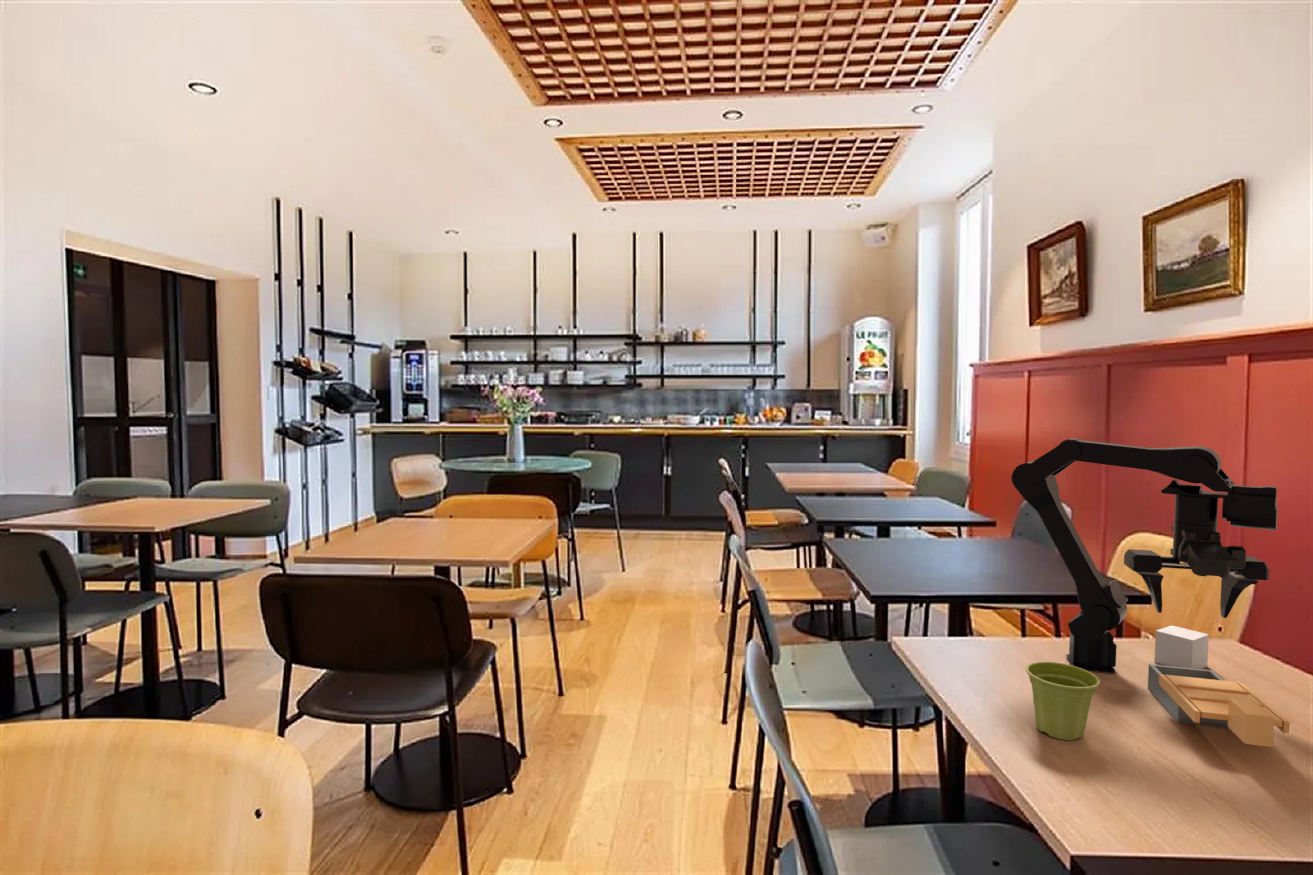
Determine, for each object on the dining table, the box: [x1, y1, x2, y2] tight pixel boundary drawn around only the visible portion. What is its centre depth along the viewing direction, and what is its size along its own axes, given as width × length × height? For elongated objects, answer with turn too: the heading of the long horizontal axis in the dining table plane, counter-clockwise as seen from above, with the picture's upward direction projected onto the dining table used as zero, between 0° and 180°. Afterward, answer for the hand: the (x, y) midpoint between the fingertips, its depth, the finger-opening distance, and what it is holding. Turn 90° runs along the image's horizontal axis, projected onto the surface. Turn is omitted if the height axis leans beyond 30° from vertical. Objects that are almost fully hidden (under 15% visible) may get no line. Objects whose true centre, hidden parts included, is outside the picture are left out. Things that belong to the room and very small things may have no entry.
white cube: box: [1153, 625, 1210, 669], centre depth 131 cm, size 6×6×6 cm
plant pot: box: [1025, 661, 1101, 741], centre depth 105 cm, size 9×9×9 cm
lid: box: [1159, 674, 1291, 748], centre depth 102 cm, size 11×19×4 cm, turn 162°
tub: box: [1147, 663, 1230, 730], centre depth 112 cm, size 9×13×4 cm
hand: (1191, 614), depth 119 cm, fingers open, 9 cm apart
